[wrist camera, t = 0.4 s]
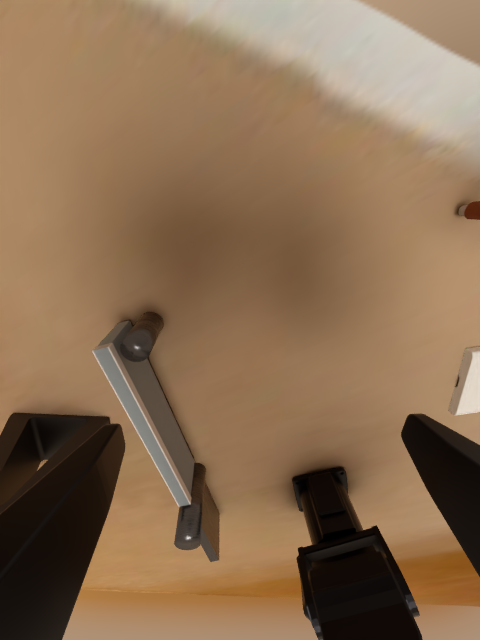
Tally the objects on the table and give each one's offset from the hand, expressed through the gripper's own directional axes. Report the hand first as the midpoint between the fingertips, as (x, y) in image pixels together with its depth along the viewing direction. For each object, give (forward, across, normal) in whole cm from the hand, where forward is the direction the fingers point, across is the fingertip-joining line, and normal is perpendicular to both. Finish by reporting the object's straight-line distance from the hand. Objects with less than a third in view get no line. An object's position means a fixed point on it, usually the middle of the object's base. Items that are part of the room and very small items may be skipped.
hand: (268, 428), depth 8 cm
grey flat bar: (+14, +7, +11) cm, 20 cm away
